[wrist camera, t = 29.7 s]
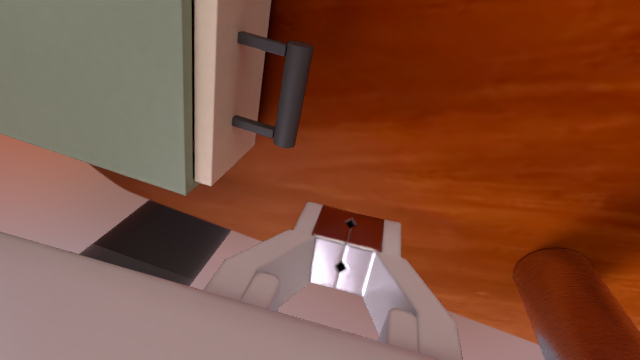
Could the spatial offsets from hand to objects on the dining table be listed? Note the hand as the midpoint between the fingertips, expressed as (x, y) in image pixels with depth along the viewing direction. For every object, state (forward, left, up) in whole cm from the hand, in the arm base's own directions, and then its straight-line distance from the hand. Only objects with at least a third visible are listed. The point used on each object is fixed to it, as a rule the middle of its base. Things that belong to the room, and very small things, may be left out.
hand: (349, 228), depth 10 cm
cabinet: (0, +17, -15) cm, 22 cm away
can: (-10, -18, -15) cm, 25 cm away
